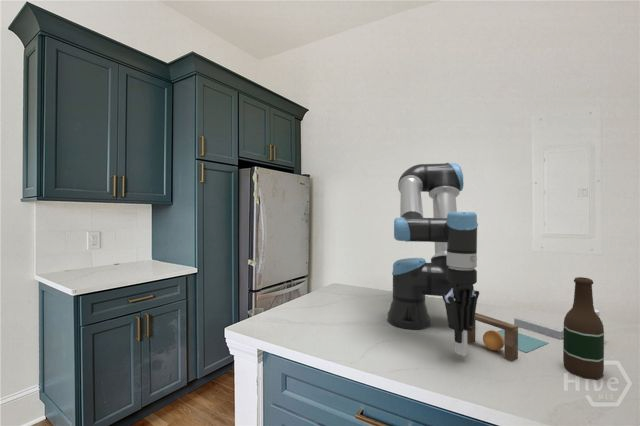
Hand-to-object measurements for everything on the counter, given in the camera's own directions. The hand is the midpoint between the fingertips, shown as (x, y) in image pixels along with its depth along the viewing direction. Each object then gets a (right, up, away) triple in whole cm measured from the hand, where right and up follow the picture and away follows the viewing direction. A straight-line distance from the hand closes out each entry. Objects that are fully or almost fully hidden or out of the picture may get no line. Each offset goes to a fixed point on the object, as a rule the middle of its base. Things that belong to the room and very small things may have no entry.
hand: (461, 353), depth 82 cm
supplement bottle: (+48, -2, +13) cm, 50 cm away
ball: (+13, +1, +6) cm, 14 cm away
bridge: (+11, -2, +6) cm, 13 cm away
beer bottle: (+29, -2, -6) cm, 29 cm away
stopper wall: (+36, -2, +20) cm, 41 cm away
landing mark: (+24, -2, +13) cm, 27 cm away
